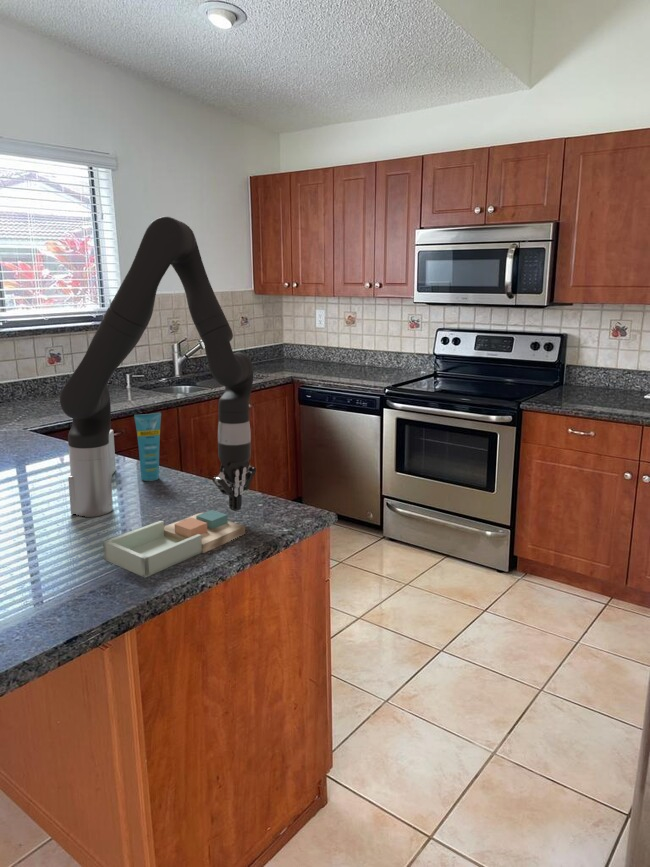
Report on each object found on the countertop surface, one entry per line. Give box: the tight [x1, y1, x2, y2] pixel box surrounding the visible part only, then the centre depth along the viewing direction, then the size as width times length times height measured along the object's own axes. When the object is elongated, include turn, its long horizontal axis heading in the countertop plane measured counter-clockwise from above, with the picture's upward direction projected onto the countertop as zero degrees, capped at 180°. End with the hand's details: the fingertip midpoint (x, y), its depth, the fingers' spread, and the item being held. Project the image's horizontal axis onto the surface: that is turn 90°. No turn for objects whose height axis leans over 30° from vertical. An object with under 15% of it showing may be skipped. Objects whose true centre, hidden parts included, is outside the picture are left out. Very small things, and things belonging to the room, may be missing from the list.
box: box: [102, 520, 203, 578], centre depth 135 cm, size 15×13×4 cm
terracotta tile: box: [175, 518, 207, 538], centre depth 143 cm, size 5×5×2 cm
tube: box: [133, 412, 162, 482], centre depth 182 cm, size 7×5×19 cm, turn 123°
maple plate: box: [164, 512, 246, 554], centre depth 146 cm, size 13×14×2 cm
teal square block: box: [196, 509, 229, 529], centre depth 148 cm, size 5×5×2 cm
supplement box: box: [109, 429, 117, 477], centre depth 186 cm, size 7×7×13 cm
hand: (235, 509), depth 154 cm, fingers closed
